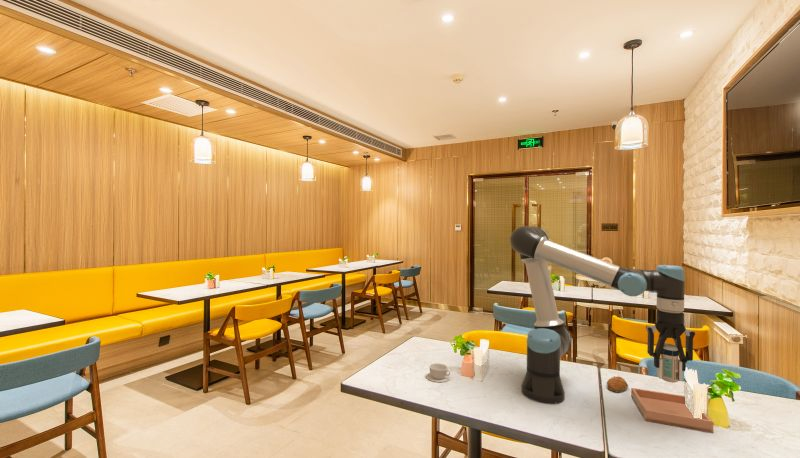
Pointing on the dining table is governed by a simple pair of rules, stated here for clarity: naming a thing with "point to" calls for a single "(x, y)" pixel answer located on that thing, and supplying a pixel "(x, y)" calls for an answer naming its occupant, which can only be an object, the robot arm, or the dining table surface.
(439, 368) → the teacup
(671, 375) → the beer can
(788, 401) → the dining table surface
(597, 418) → the dining table surface
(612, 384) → the pastry
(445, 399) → the dining table surface
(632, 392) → the terracotta dish
